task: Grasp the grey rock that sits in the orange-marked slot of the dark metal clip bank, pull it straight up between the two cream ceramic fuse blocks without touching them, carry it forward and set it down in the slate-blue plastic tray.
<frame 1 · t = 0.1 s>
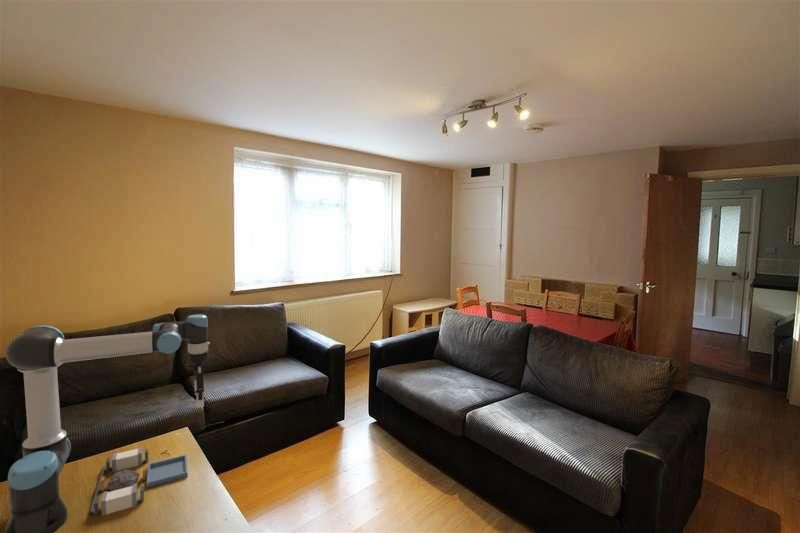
hand: (199, 400, 159), 28 cm above the table, fingers open, 13 cm apart
rock: (124, 485, 147), on the table
tray: (167, 472, 155), on the table
fuse 1: (120, 506, 136), on the table
fuse 2: (128, 465, 159), on the table
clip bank: (124, 483, 147), on the table
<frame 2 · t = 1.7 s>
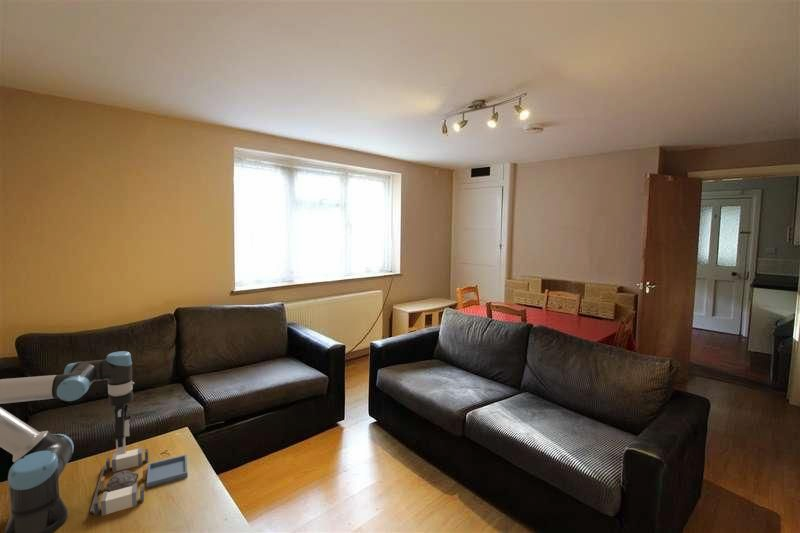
hand: (123, 444, 146), 16 cm above the table, fingers open, 13 cm apart
nothing on the table moved.
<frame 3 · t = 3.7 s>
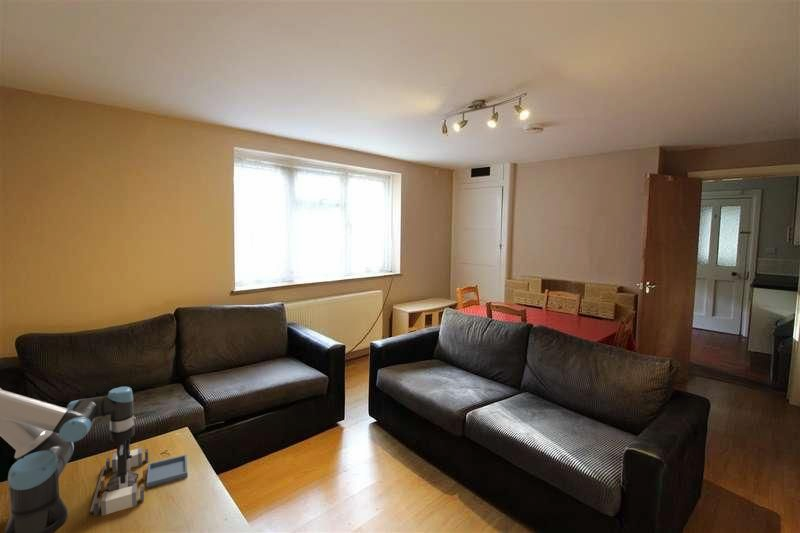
hand: (125, 482, 147), 1 cm above the table, fingers closed on rock, 9 cm apart
rock: (123, 485, 147), on the table, touching gripper
everything else where it was.
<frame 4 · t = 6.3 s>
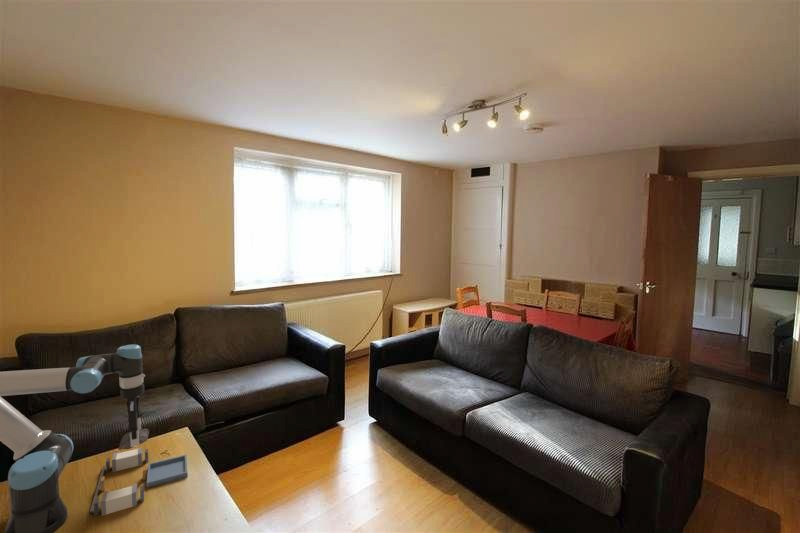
hand: (136, 439, 148), 17 cm above the table, fingers closed on rock, 9 cm apart
rock: (137, 442, 148), point 16 cm above the table, touching gripper
everything else where it was.
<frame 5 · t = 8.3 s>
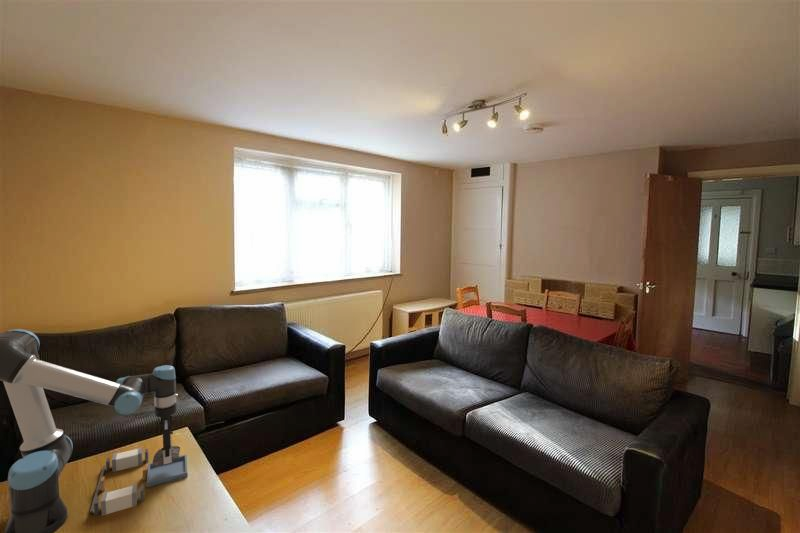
hand: (167, 456, 154), 7 cm above the table, fingers closed on rock, 9 cm apart
rock: (168, 459, 154), point 6 cm above the table, touching gripper
everything else where it was.
when the fingers open (3 cm above the table, at t = 9.4 s): rock drops 2 cm, resting on tray.
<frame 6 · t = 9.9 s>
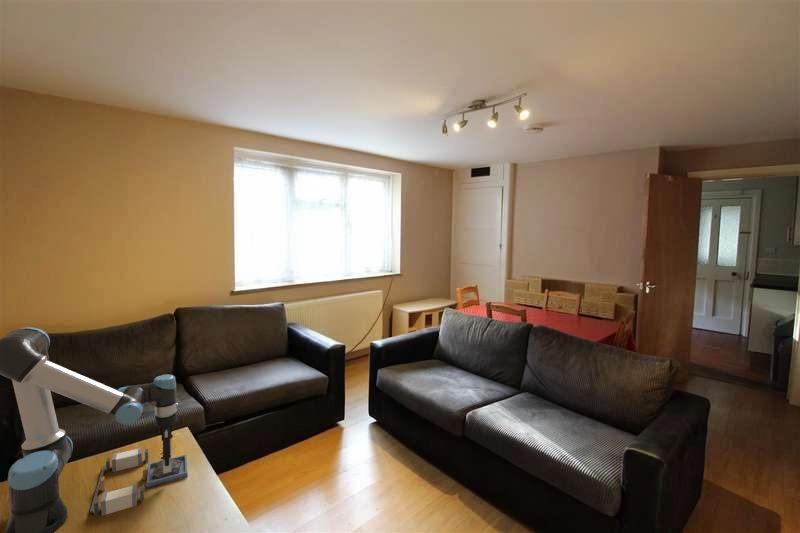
hand: (167, 462, 154), 4 cm above the table, fingers open, 13 cm apart
rock: (168, 472, 154), resting on tray
everything else where it was.
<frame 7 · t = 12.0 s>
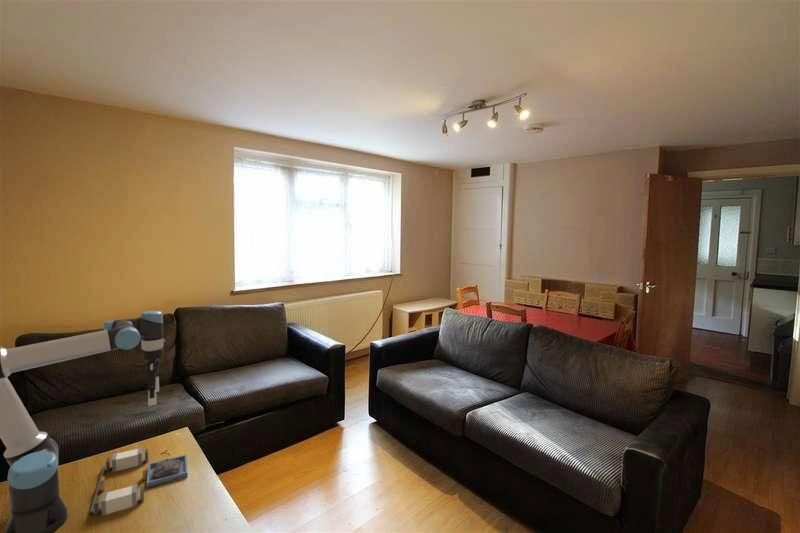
hand: (153, 398, 157), 30 cm above the table, fingers open, 13 cm apart
nothing on the table moved.
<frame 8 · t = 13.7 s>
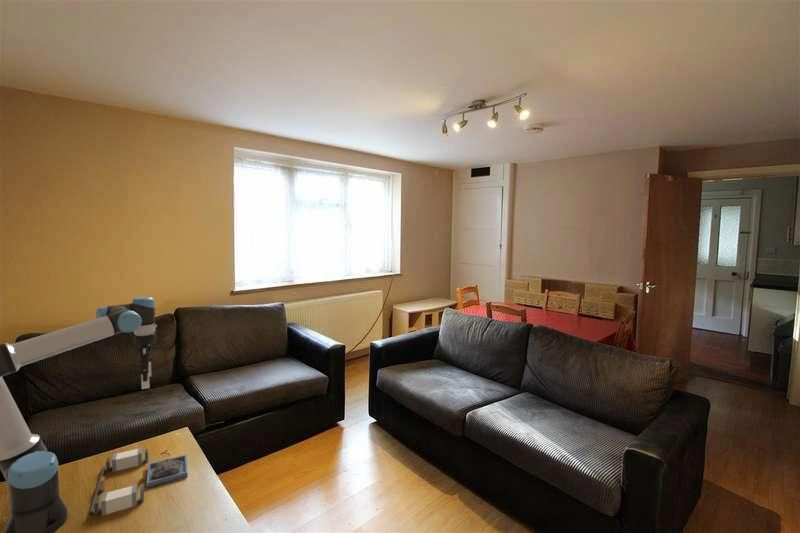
hand: (146, 382, 160), 35 cm above the table, fingers open, 13 cm apart
nothing on the table moved.
at the end: rock inside the target area on the tray (1.0 cm from its centre), point 0.3 cm above the tray's base; fuse 2 moved 0.1 cm from its start; fuse 1 moved 0.1 cm from its start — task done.
